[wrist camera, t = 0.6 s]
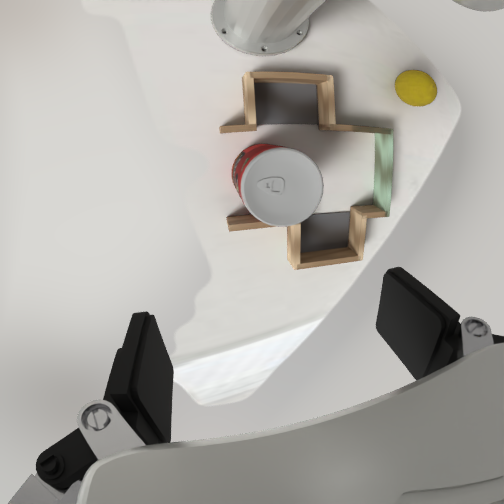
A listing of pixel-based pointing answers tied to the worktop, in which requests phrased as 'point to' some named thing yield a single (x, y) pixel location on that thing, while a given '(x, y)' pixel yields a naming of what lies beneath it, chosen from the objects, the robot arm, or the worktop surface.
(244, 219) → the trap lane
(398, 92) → the lemon
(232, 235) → the worktop surface
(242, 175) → the canned food
